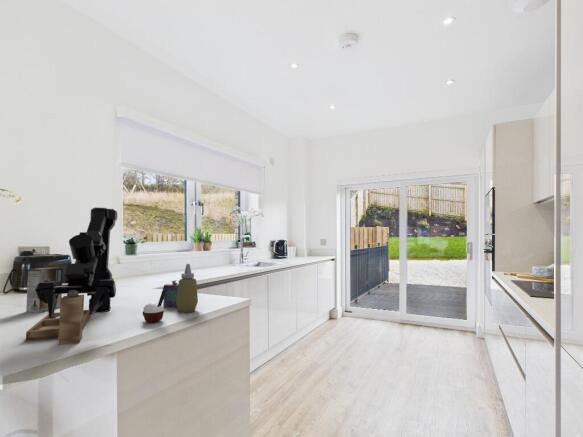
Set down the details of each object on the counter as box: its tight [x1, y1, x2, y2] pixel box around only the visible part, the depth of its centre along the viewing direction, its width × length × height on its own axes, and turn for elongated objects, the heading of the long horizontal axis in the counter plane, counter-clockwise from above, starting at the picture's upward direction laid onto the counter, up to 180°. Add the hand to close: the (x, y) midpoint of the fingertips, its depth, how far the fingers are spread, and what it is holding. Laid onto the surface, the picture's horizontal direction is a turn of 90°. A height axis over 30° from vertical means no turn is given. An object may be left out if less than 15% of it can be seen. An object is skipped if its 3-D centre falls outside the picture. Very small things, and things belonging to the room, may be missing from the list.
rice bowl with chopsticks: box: [142, 285, 167, 324], centre depth 104 cm, size 10×6×12 cm, turn 48°
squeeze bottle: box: [176, 263, 199, 314], centre depth 120 cm, size 8×8×18 cm
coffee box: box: [25, 266, 63, 313], centre depth 121 cm, size 9×6×16 cm
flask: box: [162, 280, 179, 309], centre depth 127 cm, size 9×3×11 cm, turn 71°
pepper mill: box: [57, 290, 85, 346], centre depth 85 cm, size 5×5×14 cm
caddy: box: [25, 309, 92, 342], centre depth 97 cm, size 12×23×2 cm, turn 26°
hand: (70, 315), depth 84 cm, fingers open, 9 cm apart
